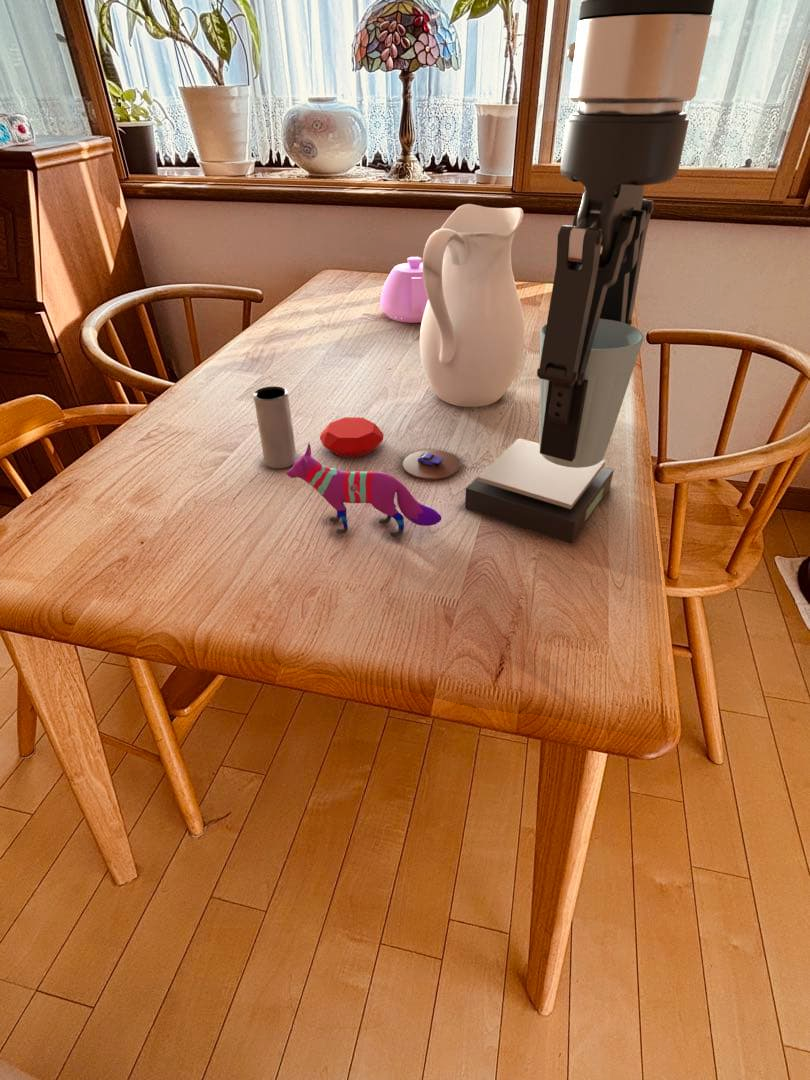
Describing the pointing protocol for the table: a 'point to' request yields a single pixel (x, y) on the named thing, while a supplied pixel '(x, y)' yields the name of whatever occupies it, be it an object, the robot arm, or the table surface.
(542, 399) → the cup
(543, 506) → the scale
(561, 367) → the robot arm
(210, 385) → the table surface
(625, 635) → the table surface
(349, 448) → the gemstone
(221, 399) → the table surface
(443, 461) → the round wooden coaster
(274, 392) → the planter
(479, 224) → the pitcher
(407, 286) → the teapot
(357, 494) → the fox figurine
